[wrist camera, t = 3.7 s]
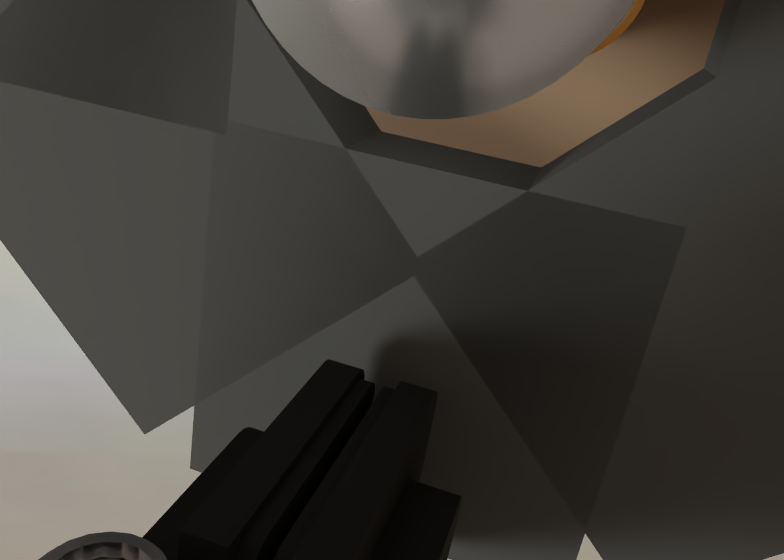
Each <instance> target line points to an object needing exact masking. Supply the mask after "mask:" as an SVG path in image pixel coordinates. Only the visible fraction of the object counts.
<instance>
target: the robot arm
mask: <svg viewBox="0 0 784 560" xmlns="http://www.w3.org/2000/svg"><path fill="white" fill-rule="evenodd" d="M364 379H365V372H364V370H363V369H360V368H357V367H354V366H350V365H347V364H344V363H340V362H337V361H333V360H330V359H327V360H326V361H325V362H324V363H323V364H322V365H321V366H320V367H319V369H318V370H317V371H316V372H315V373H314V374H313V376H312V377H311V378H310V379H309V380H308V381H307V383H306V384H305V385H304V386H303V387H302V388H301V389H300V391H299V392H298V393H297V394H296V395H295V396H294V398H293V399H292V400H291V401H290V402H289V403H288V405H287V406H286V407H285V408H284V409H283V410H282V411H281V413H280V414H279V415H278V416H277V417H276V418H275V420H274V421H273V422H272V423H271V424H270V425H269V427H268V428H267V429H266V430H265V431H261V430H258V429H255V428H252V427H247V428H244V429H243V430H242V431H241V432H239V433H238V434H237V435H236V436H235V438H234V439H233V440H232V441H231V442H230V443H229V444H228V445H227V446H226V447H225V448H224V449H223V451H222V452H221V453H220V454H219V455H218V456H217V457H216V458H215V459H214V460H213V461H212V463H211V464H210V465H209V466H208V467H207V468H206V469H205V470H204V471H203V472H202V473H201V474H200V476H199V477H198V478H197V479H196V480H195V481H194V482H193V483H192V484H191V485H190V486H189V488H188V489H187V490H186V491H185V492H184V493H183V494H182V495H181V496H180V497H179V498H178V499H177V501H176V502H175V503H174V504H173V505H172V506H171V507H170V508H169V509H168V510H167V511H166V512H165V514H164V515H163V516H162V517H161V518H160V519H159V520H158V521H157V522H156V523H155V524H154V526H153V527H152V528H151V529H150V530H149V531H148V532H147V533H146V534H145V535H144V536H143V537H142V538H141V537H138V536H136V535H133V534H128V533H118V532H104V533H94V534H88V535H85V536H82V537H79V538H75V539H72V540H69V541H67V542H65V543H64V544H62V545H60V546H58V547H57V548H55V549H53V550H51V551H50V552H48V553H47V554H45V555H44V556H43V557H41V558H40V559H39V560H447V558H448V555H449V551H450V547H451V543H452V539H453V535H454V531H455V527H456V523H457V519H458V515H459V511H460V506H461V501H462V496H460V495H457V494H454V493H451V492H447V491H444V490H441V489H438V488H435V487H432V486H429V485H426V484H423V483H420V477H421V473H422V468H423V463H424V459H425V454H426V449H427V445H428V440H429V435H430V431H431V426H432V422H433V417H434V412H435V408H436V403H437V396H438V392H437V391H434V390H431V389H427V388H424V387H421V386H417V385H414V384H411V383H407V382H404V381H400V383H399V384H398V385H397V387H396V389H393V388H389V387H386V386H384V387H383V388H382V390H381V391H380V393H379V394H378V396H377V397H376V399H375V400H374V402H373V398H374V392H375V384H374V383H373V382H369V381H366V380H364ZM372 403H373V404H372Z"/></svg>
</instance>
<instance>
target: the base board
mask: <svg viewBox="0 0 784 560" xmlns="http://www.w3.org/2000/svg"><path fill="white" fill-rule="evenodd" d="M724 2H725V0H645V2H644V4H643V6H642V8H641V10H640V11H639V13H638V14H637V16H636V17H635V19H634V20H633V22H632V23H631V24H630V25H629V26H628V28H627V29H626V30H625V31H624V32H623V33H622V34H621V35H620V36H619V37H618V38H617V39H615V40H614V41H613V42H611V43H610V44H609V45H608V46H606V47H604V48H603V49H601V50H599V51H598V52H596V53H594V54H591V55H589V56H587V57H586V58H585V59H584V60H583V61H582V62H581V63H580V64H578V65H577V66H576V67H574V68H573V69H572V70H570V71H569V72H568V73H566V74H565V75H564V76H562V77H561V78H560V79H558V80H557V81H556V82H554V83H553V84H551V85H549V86H547V87H546V88H544V89H542V90H540V91H539V92H537V93H535V94H533V95H532V96H530V97H528V98H526V99H523V100H521V101H518V102H516V103H514V104H511V105H509V106H506V107H504V108H501V109H498V110H494V111H490V112H486V113H483V114H479V115H475V116H468V117H460V118H453V119H417V118H410V117H404V116H397V115H392V114H389V113H385V112H382V111H378V110H375V109H371V108H368V107H366V106H365V107H366V109H367V110H368V112H369V113H370V115H371V116H372V118H373V119H374V121H375V122H376V124H377V125H378V127H379V129H380V130H381V131H382V132H386V133H390V134H395V135H399V136H404V137H408V138H413V139H417V140H421V141H426V142H430V143H435V144H439V145H444V146H448V147H453V148H457V149H461V150H466V151H470V152H475V153H479V154H484V155H488V156H492V157H497V158H501V159H506V160H510V161H515V162H519V163H524V164H528V165H532V166H537V167H543V166H545V165H546V164H548V163H549V162H551V161H553V160H554V159H556V158H558V157H559V156H561V155H563V154H564V153H566V152H567V151H569V150H571V149H572V148H574V147H576V146H577V145H579V144H581V143H582V142H584V141H585V140H587V139H589V138H590V137H592V136H594V135H595V134H597V133H599V132H600V131H602V130H604V129H605V128H607V127H608V126H610V125H612V124H613V123H615V122H617V121H618V120H620V119H622V118H623V117H625V116H626V115H628V114H630V113H631V112H633V111H635V110H636V109H638V108H640V107H641V106H643V105H644V104H646V103H648V102H649V101H651V100H653V99H654V98H656V97H658V96H659V95H661V94H662V93H664V92H666V91H667V90H669V89H671V88H672V87H674V86H676V85H677V84H679V83H681V82H682V81H684V80H685V79H687V78H689V77H690V76H692V75H694V74H695V73H697V72H699V71H700V70H702V69H703V68H704V66H705V63H706V60H707V56H708V53H709V50H710V47H711V44H712V40H713V37H714V34H715V31H716V28H717V25H718V21H719V18H720V15H721V12H722V9H723V5H724Z"/></svg>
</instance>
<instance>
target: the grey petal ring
mask: <svg viewBox="0 0 784 560" xmlns="http://www.w3.org/2000/svg"><path fill="white" fill-rule="evenodd" d="M0 240H1V241H2V243H3V244H4V245H5V247H6V248H7V249H8V251H9V252H10V253H11V255H12V256H13V257H14V259H15V260H16V262H17V263H18V264H19V266H20V267H21V268H22V270H23V271H24V272H25V274H26V275H27V276H28V278H29V279H30V280H31V282H32V283H33V284H34V286H35V287H36V289H37V290H38V291H39V293H40V294H41V295H42V297H43V298H44V299H45V301H46V302H47V303H48V305H49V306H50V307H51V309H52V310H53V311H54V313H55V314H56V315H57V317H58V318H59V320H60V321H61V322H62V324H63V325H64V326H65V328H66V329H67V330H68V332H69V333H70V334H71V336H72V337H73V338H74V340H75V341H76V342H77V344H78V345H79V347H80V348H81V349H82V351H83V352H84V353H85V355H86V356H87V357H88V359H89V360H90V361H91V363H92V364H93V365H94V367H95V368H96V369H97V371H98V372H99V373H100V375H101V376H102V378H103V379H104V380H105V382H106V383H107V384H108V386H109V387H110V388H111V390H112V391H113V392H114V394H115V395H116V396H117V398H118V399H119V400H120V402H121V403H122V405H123V406H124V407H125V409H126V410H127V411H128V413H129V414H130V415H131V417H132V418H133V419H134V421H135V422H136V423H137V425H138V426H139V427H140V429H141V430H142V431H143V433H144V434H146V433H148V432H150V431H151V430H153V429H155V428H156V427H158V426H160V425H162V424H163V423H165V422H167V421H168V420H170V419H172V418H173V417H175V416H177V415H179V414H180V413H182V412H184V411H185V410H187V409H189V408H190V407H192V406H194V405H195V407H194V421H193V435H192V449H191V463H190V469H193V470H196V471H199V472H203V471H204V470H205V469H206V468H207V467H208V466H209V465H210V464H211V463H212V461H213V460H214V459H215V458H216V457H217V456H218V455H219V454H220V453H221V452H222V451H223V449H224V448H225V447H226V446H227V445H228V444H229V443H230V442H231V441H232V440H233V439H234V438H235V436H236V435H237V434H238V433H239V432H241V431H242V430H243V429H244V428H247V427H252V428H255V429H258V430H261V431H265V430H266V429H267V428H268V427H269V425H270V424H271V423H272V422H273V421H274V420H275V418H276V417H277V416H278V415H279V414H280V413H281V411H282V410H283V409H284V408H285V407H286V406H287V405H288V403H289V402H290V401H291V400H292V399H293V398H294V396H295V395H296V394H297V393H298V392H299V391H300V389H301V388H302V387H303V386H304V385H305V384H306V383H307V381H308V380H309V379H310V378H311V377H312V376H313V374H314V373H315V372H316V371H317V370H318V369H319V367H320V366H321V365H322V364H323V363H324V362H325V361H326V360H327V359H330V360H333V361H337V362H340V363H344V364H347V365H350V366H354V367H357V368H360V369H363V370H364V372H365V379H364V380H366V381H369V382H373V383H374V384H375V392H374V398H373V402H374V400H375V399H376V397H377V396H378V394H379V393H380V391H381V390H382V388H383V387H384V386H386V387H389V388H393V389H396V387H397V385H398V384H399V383H400V381H404V382H407V383H411V384H414V385H417V386H421V387H424V388H427V389H431V390H434V391H437V392H438V396H437V403H436V408H435V412H434V417H433V422H432V426H431V431H430V435H429V440H428V445H427V449H426V454H425V459H424V463H423V468H422V473H421V477H420V483H423V484H426V485H429V486H432V487H435V488H438V489H441V490H444V491H447V492H451V493H454V494H457V495H460V496H462V501H461V506H460V511H459V515H458V519H457V523H456V527H455V531H454V535H453V539H452V543H451V547H450V551H449V555H448V558H449V559H452V560H576V558H577V555H578V552H579V549H580V546H581V543H582V540H583V537H584V534H585V533H586V535H587V536H588V538H589V539H590V541H591V542H592V544H593V545H594V547H595V548H596V550H597V551H598V553H599V554H600V556H601V557H602V559H603V560H763V559H766V558H769V557H772V556H776V555H779V554H782V553H784V0H725V2H724V5H723V9H722V12H721V15H720V18H719V21H718V25H717V28H716V31H715V34H714V37H713V40H712V44H711V47H710V50H709V53H708V56H707V60H706V63H705V66H704V68H703V69H702V70H700V71H699V72H697V73H695V74H694V75H692V76H690V77H689V78H687V79H685V80H684V81H682V82H681V83H679V84H677V85H676V86H674V87H672V88H671V89H669V90H667V91H666V92H664V93H662V94H661V95H659V96H658V97H656V98H654V99H653V100H651V101H649V102H648V103H646V104H644V105H643V106H641V107H640V108H638V109H636V110H635V111H633V112H631V113H630V114H628V115H626V116H625V117H623V118H622V119H620V120H618V121H617V122H615V123H613V124H612V125H610V126H608V127H607V128H605V129H604V130H602V131H600V132H599V133H597V134H595V135H594V136H592V137H590V138H589V139H587V140H585V141H584V142H582V143H581V144H579V145H577V146H576V147H574V148H572V149H571V150H569V151H567V152H566V153H564V154H563V155H561V156H559V157H558V158H556V159H554V160H553V161H551V162H549V163H548V164H546V165H545V166H543V167H537V166H532V165H528V164H524V163H519V162H515V161H510V160H506V159H501V158H497V157H492V156H488V155H484V154H479V153H475V152H470V151H466V150H461V149H457V148H453V147H448V146H444V145H439V144H435V143H430V142H426V141H421V140H417V139H413V138H408V137H404V136H399V135H395V134H390V133H386V132H382V131H381V130H380V129H379V127H378V125H377V124H376V122H375V121H374V119H373V118H372V116H371V115H370V113H369V112H368V110H367V109H366V107H365V106H364V105H361V104H359V103H357V102H355V101H352V100H350V99H348V98H346V97H344V96H342V95H341V94H339V93H337V92H336V91H334V90H332V89H331V88H329V87H328V86H326V85H324V84H323V83H321V82H320V81H319V80H318V79H316V78H315V77H314V76H313V75H311V74H310V73H309V72H308V71H306V70H305V69H304V68H303V67H301V66H300V64H299V63H298V62H297V61H296V60H295V59H294V58H293V57H292V56H291V55H290V54H289V53H288V52H287V51H286V50H285V49H284V48H283V47H282V45H281V44H280V43H279V41H278V40H277V39H276V37H275V36H274V35H273V33H272V32H271V31H270V29H269V28H268V27H267V25H266V24H265V22H264V21H263V19H262V17H261V15H260V14H259V12H258V10H257V9H256V7H255V5H254V3H253V2H252V0H0ZM372 404H373V403H372Z"/></svg>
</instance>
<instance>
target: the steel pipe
mask: <svg viewBox="0 0 784 560" xmlns="http://www.w3.org/2000/svg"><path fill="white" fill-rule="evenodd" d="M252 2H253V3H254V5H255V7H256V9H257V10H258V12H259V14H260V15H261V17H262V19H263V21H264V22H265V24H266V25H267V27H268V28H269V29H270V31H271V32H272V33H273V35H274V36H275V37H276V39H277V40H278V41H279V43H280V44H281V45H282V47H283V48H284V49H285V50H286V51H287V52H288V53H289V54H290V55H291V56H292V57H293V58H294V59H295V60H296V61H297V62H298V63H299V64H300V66H301V67H303V68H304V69H305V70H306V71H308V72H309V73H310V74H311V75H313V76H314V77H315V78H316V79H318V80H319V81H320V82H321V83H323V84H324V85H326V86H328V87H329V88H331V89H332V90H334V91H336V92H337V93H339V94H341V95H342V96H344V97H346V98H348V99H350V100H352V101H355V102H357V103H359V104H361V105H364V106H366V107H368V108H371V109H375V110H378V111H382V112H385V113H389V114H392V115H397V116H404V117H410V118H417V119H453V118H460V117H468V116H475V115H479V114H483V113H486V112H490V111H494V110H498V109H501V108H504V107H506V106H509V105H511V104H514V103H516V102H518V101H521V100H523V99H526V98H528V97H530V96H532V95H533V94H535V93H537V92H539V91H540V90H542V89H544V88H546V87H547V86H549V85H551V84H553V83H554V82H556V81H557V80H558V79H560V78H561V77H562V76H564V75H565V74H566V73H568V72H569V71H570V70H572V69H573V68H574V67H576V66H577V65H578V64H580V63H581V62H582V61H583V60H584V59H585V58H586V57H587V56H589V55H591V54H594V53H596V52H598V51H599V50H601V49H603V48H604V47H606V46H608V45H609V44H610V43H611V42H613V41H614V40H615V39H617V38H618V37H619V36H620V35H621V34H622V33H623V32H624V31H625V30H626V29H627V28H628V26H629V25H630V24H631V23H632V22H633V20H634V19H635V17H636V16H637V14H638V13H639V11H640V10H641V8H642V6H643V4H644V2H645V0H252Z"/></svg>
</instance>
